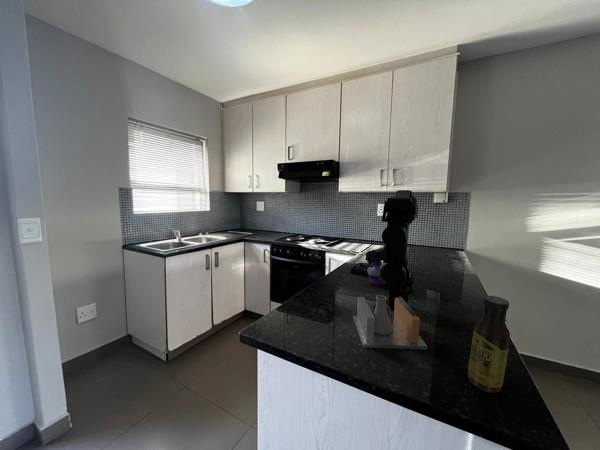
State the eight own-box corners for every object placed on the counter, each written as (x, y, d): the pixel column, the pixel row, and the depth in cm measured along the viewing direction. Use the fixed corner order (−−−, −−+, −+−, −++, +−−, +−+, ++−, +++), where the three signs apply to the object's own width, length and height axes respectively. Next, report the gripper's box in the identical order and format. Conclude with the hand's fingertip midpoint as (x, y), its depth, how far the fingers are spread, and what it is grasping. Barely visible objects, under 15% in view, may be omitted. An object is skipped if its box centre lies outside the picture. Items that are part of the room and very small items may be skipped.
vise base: (404, 319, 83) (406, 296, 82) (427, 349, 67) (429, 321, 66) (353, 318, 84) (354, 295, 83) (363, 347, 68) (364, 319, 67)
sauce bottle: (460, 374, 58) (468, 292, 55) (485, 373, 58) (494, 291, 56) (483, 397, 51) (493, 305, 49) (511, 395, 52) (523, 304, 50)
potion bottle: (378, 289, 110) (379, 262, 108) (362, 283, 116) (363, 258, 115) (389, 284, 115) (391, 259, 114) (373, 279, 122) (374, 255, 120)
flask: (393, 337, 71) (395, 303, 70) (367, 333, 73) (368, 300, 72) (391, 324, 78) (393, 293, 77) (367, 321, 80) (368, 291, 79)
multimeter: (359, 268, 141) (359, 259, 141) (394, 274, 131) (395, 265, 130) (349, 274, 131) (350, 265, 130) (387, 282, 120) (388, 271, 119)
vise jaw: (399, 318, 82) (401, 294, 81) (418, 343, 68) (420, 315, 67) (393, 317, 82) (395, 294, 81) (410, 343, 68) (412, 315, 67)
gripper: (373, 234, 84) (371, 279, 86) (361, 244, 67) (359, 300, 69) (409, 236, 79) (406, 284, 81) (406, 248, 62) (403, 308, 64)
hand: (393, 293), depth 74 cm, fingers open, 9 cm apart
